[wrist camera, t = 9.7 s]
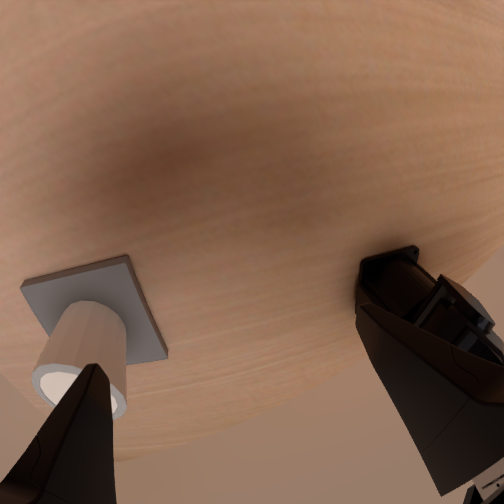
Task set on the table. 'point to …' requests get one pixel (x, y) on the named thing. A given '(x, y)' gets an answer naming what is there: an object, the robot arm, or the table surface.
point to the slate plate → (106, 293)
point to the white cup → (84, 353)
